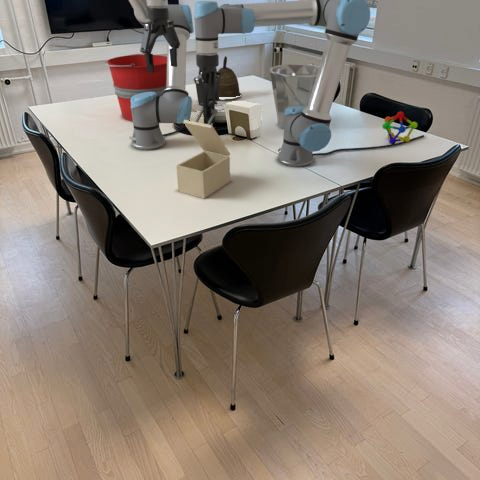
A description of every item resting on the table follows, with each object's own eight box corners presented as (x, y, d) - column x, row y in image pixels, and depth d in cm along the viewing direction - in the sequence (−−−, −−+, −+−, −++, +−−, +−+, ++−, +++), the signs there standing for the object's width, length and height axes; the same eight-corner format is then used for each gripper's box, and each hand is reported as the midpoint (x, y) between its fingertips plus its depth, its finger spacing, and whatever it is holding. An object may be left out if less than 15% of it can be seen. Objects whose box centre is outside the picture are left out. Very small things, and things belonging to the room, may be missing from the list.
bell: (227, 105, 294) (202, 96, 282) (238, 66, 289) (213, 55, 277) (243, 108, 280) (217, 98, 268) (255, 66, 275) (229, 55, 263)
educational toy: (377, 146, 209) (379, 114, 202) (384, 138, 219) (386, 107, 211) (411, 149, 202) (415, 116, 195) (417, 141, 212) (420, 109, 204)
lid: (210, 128, 151) (221, 107, 153) (182, 122, 156) (193, 102, 158) (229, 156, 167) (238, 137, 169) (203, 150, 172) (213, 131, 174)
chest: (204, 198, 160) (202, 172, 154) (178, 190, 165) (176, 165, 160) (230, 181, 172) (229, 156, 167) (205, 175, 178) (204, 150, 172)
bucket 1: (121, 106, 263) (114, 51, 247) (180, 106, 262) (176, 52, 246) (104, 123, 233) (95, 63, 217) (170, 124, 232) (166, 64, 216)
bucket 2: (296, 138, 215) (301, 78, 201) (255, 124, 234) (256, 68, 219) (335, 125, 232) (342, 70, 217) (294, 113, 251) (297, 61, 236)
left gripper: (141, 10, 148) (148, 76, 160) (187, 5, 166) (190, 65, 178) (125, 9, 152) (133, 73, 163) (171, 4, 170) (175, 63, 181)
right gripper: (203, 57, 140) (205, 130, 153) (228, 51, 151) (229, 120, 163) (184, 55, 144) (188, 127, 156) (210, 49, 154) (212, 117, 167)
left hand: (162, 69), depth 170 cm, fingers open, 13 cm apart
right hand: (209, 123), depth 160 cm, fingers closed on lid, 2 cm apart
